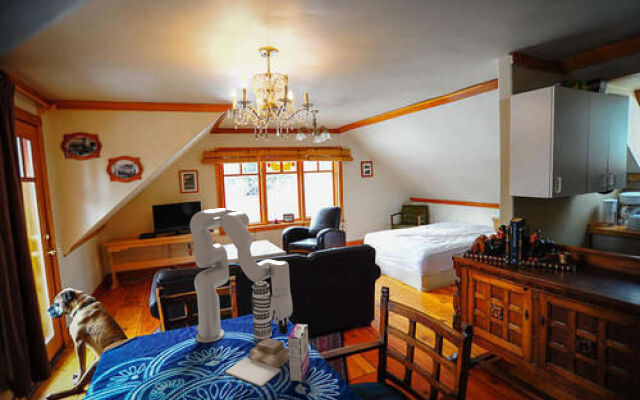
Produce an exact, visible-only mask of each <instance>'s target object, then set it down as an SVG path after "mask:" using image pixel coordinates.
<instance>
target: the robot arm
mask: <svg viewBox="0 0 640 400" xmlns="http://www.w3.org/2000/svg"><path fill="white" fill-rule="evenodd" d="M249 224H250V218H249V216H248V215H247V213H245V212H244V211H240V210H235V209H229V208H224V207H222V208H221V207H219V208H213V209H212V208H211V209H205V210H201V211H198V212H196V213H195V214H193V216H192V217H191V219H190V222H189V227H190V232H191V235H192V236H191V237H192V241H193V243H192V244H193V252H194V259H195V264H196V266H197V267H198V268H202V269H203V268H204V269H205V268H207V269H205V270H203V271H200V272H199V273H197V275H196V276H195V278H194V281H193V282H194V283H193V285H194V289H195V292H196V297H197V310H198V311H197V313H198V315H197V316H198V324H197V326H195V330H196V331H197V332H198V333H197V334H196V336H195V338H196V339H195V340H196V341H197V342H199V343H205V344H207V343H213V342H217V341H219V340H220V339H222V338H223V337H224V336H225V331H224V329H222V328H221V327H222V325H221V310H220V309H221V308H220V297H219V294H218V292H217V290H216V289H217V288H218V287H221V286H223V285H225V284H226V283H228V281H229V279H230V269H229V259H228V258H229V257H228V252H227V250H226V248H225V247H224V245H222V244H220V243H214V241H213V235H212V234H211V232H210V230H209V229H211V228H212V229H213V228H217V227H221V229H222V230H223V231H224V233H225V234H226V236H227V237H228V239H229V240H230V241H231V242H232V244H233V246H234V247H235V248H236V250H237V251H236V252H237V259H238V263H239V267H240V268H241V270H242V271H243V273H244V274H245V276H246V277H247V278H248V279H249V280H251V282H254V283H256V282H260V281H265V280H266V279H268V278H270V279H271V292H272V293H271V296H270V297H271V299H270V301H271V304H270V316H271V320H273V324H274V325H278V331H279V334H281V335H287V334H288V332H289V331H288V324H289V318H291V316H292V313H293V311H294V309H293V308H294V307H293V300H292V294H291V287H290V285H291V284H290V283H291V282H290V268H289V267H290V266H289V263H288V262H287V261H285V260H274V259H263V260H261V261H258V262H257V260H255V258H254V257H253V255H252V252H251V246H252V244H253V242H254V239H255V238H254V236H253V235H252V234H251V232H250V231H249V230H248V226H249ZM209 267H210V268H209Z"/></svg>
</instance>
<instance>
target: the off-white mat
mask: <svg viewBox="0 0 640 400" xmlns="http://www.w3.org/2000/svg"><path fill="white" fill-rule="evenodd" d="M281 371H282V370H281V369H280V368H275V367H272V366H269V365H266V364H263V363H261V362H258V361H255V360H252V359H250V357H249V358H248V357H244V358H243V359H241V360H239V362H237V363H235V364H234V365H232V366H231V367H229V368H228V369H226V370H225V374H228V375H230V376H233V377H235V378H238V379H240V380H242V381H245V382H248V383H250V384H253V385H256V386H258V387H259V388H260V387H264V385H266V384H267V383H268V382H269V381H271V380H272V379H273V378H274V377H276V375H279V373H280V372H281Z"/></svg>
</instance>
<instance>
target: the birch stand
mask: <svg viewBox="0 0 640 400" xmlns="http://www.w3.org/2000/svg"><path fill="white" fill-rule="evenodd" d="M249 354H250V355H249V359H252V360H255V361H258V362H261V363H263V364H266V365H269V366H272V367H275V368H278V369H280V368H281V367H283V365H284V364H286V363H287V362H289V348H286V347H284V349H283V350H281V351H280V352H279V353H277V354H276V355H272V354H269V353H266V352H262V351H259V350H257V345H256V346H254V347H252V348H251V349H249Z"/></svg>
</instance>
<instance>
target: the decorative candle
mask: <svg viewBox="0 0 640 400" xmlns="http://www.w3.org/2000/svg"><path fill="white" fill-rule="evenodd" d="M251 288H252V295H250V298H251V306H252V308H251V309H252V313H253V325H252V326H253V337H254V338H255V339H257V340H264V339H265V338H270V337H272V335H273V334H272V333H273V330H272V329H273V326H272V319H271V316H270V304H271V296H272V293H270V283H268V282H267V281H265V280H262V281H260V282H254V283H253V285H252V286H251Z"/></svg>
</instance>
